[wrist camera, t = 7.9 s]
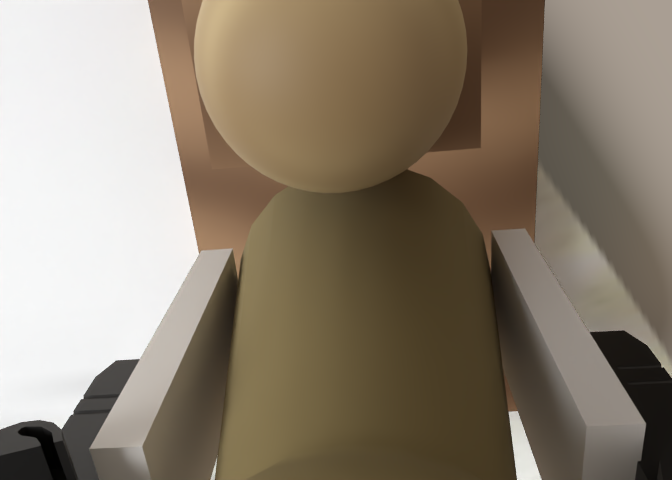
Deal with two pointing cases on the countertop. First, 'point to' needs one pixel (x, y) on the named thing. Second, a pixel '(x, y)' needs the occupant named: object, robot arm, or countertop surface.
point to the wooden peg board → (352, 104)
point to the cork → (365, 342)
